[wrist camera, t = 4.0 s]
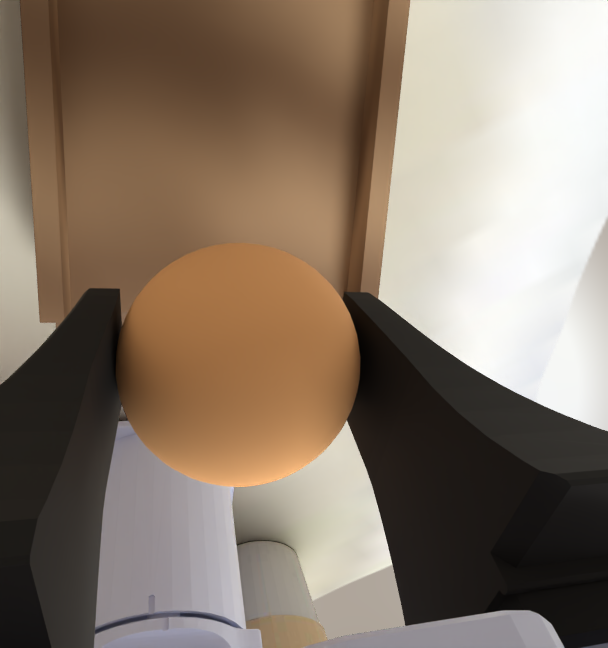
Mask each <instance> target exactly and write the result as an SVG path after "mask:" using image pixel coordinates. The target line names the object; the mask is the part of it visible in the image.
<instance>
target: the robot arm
mask: <svg viewBox="0 0 608 648" xmlns="http://www.w3.org/2000/svg"><path fill="white" fill-rule="evenodd" d="M342 300H343V302H344V304H345V306H346V307H347V309H348V311H349V313H350V315H351V318H352V321H353V324H354V327H355V330H356V333H357V337H358V344H359V351H360V380H359V385H358V390H357V394H356V398H355V401H354V404H353V407H352V410H351V412H350V414H349V416H348V418H347V421H348V424H349V426H350V429H351V431H352V434H353V436H354V439H355V441H356V444H357V446H358V449H359V451H360V454H361V456H362V459H363V462H364V464H365V467H366V469H367V472H368V475H369V478H370V481H371V484H372V486H373V490H374V494H375V497H376V501H377V505H378V508H379V512H380V516H381V519H382V523H383V527H384V531H385V535H386V539H387V543H388V547H389V551H390V556H391V560H392V564H393V568H394V573H395V578H396V582H397V587H398V591H399V596H400V600H401V605H402V610H403V615H404V620H405V626H403V627H396V628H389V629H383V630H377V631H370V632H364V633H358V634H352V635H346V636H341V637H337V638H334V639H330V640H327V641H323V642H319V643H316V644H312V645H309V646H305V647H303V648H608V431H605V430H601V429H599V428H596V427H593V426H591V425H588V424H586V423H583V422H581V421H578V420H575V419H573V418H570V417H567V416H565V415H563V414H561V413H558V412H556V411H554V410H551V409H549V408H547V407H544V406H542V405H540V404H538V403H536V402H534V401H532V400H530V399H528V398H526V397H524V396H521V395H519V394H517V393H515V392H513V391H511V390H510V389H508V388H506V387H504V386H502V385H500V384H498V383H497V382H495V381H493V380H491V379H490V378H488V377H486V376H485V375H483V374H481V373H479V372H478V371H476V370H474V369H473V368H471V367H470V366H468V365H466V364H465V363H463V362H462V361H460V360H459V359H457V358H456V357H454V356H453V355H452V354H450V353H449V352H447V351H446V350H444V349H443V348H441V347H440V346H439V345H437V344H436V343H434V342H433V341H432V340H430V339H429V338H428V337H426V336H425V335H424V334H422V333H421V332H420V331H418V330H417V329H416V328H415V327H413V326H412V325H411V324H409V323H408V322H407V321H406V320H404V319H403V318H402V317H401V316H399V315H398V314H397V313H396V312H394V311H393V310H392V309H390V308H389V307H388V306H387V305H385V304H384V303H383V302H381V301H380V300H379V299H377V298H376V297H375V296H373V295H372V294H370V293H368V292H344V295H343V299H342ZM121 328H122V318H121V300H120V289H117V288H89V289H88V290H87V291H86V292H84V294H83V295H82V297H81V298H80V299H79V301H78V302H77V303H76V305H75V306H74V307H73V309H72V310H71V311H70V313H69V314H68V315H67V316H66V318H65V319H64V320H63V321H62V323H61V324H60V325H59V326H58V327H57V328H56V330H55V331H54V332H53V333H52V334H51V335H50V336H49V338H48V339H47V340H46V341H45V342H44V343H43V344H42V345H41V346H40V348H39V349H38V350H37V351H36V352H35V353H34V354H33V355H32V356H31V357H30V358H29V359H28V360H27V361H26V362H25V363H24V364H23V365H22V366H21V367H20V368H19V369H18V370H17V371H15V372H14V373H13V374H12V375H11V376H10V377H9V378H8V379H7V380H6V381H4V382H3V383H2V384H1V385H0V648H263V647H262V639H261V632H260V630H259V629H246V622H245V613H244V605H243V596H242V588H241V579H240V571H239V562H238V553H237V545H236V536H235V528H234V519H233V510H232V501H233V493H234V487H228V486H220V485H214V484H209V483H205V482H201V481H198V480H195V479H192V478H190V477H188V476H186V475H184V474H182V473H180V472H178V471H176V470H174V469H172V468H171V467H169V466H168V465H166V464H165V463H164V462H162V461H161V460H160V459H159V458H158V457H157V456H156V455H155V454H153V453H152V452H151V451H150V450H149V449H148V448H147V447H146V446H145V444H144V443H143V442H142V441H141V440H140V438H139V437H138V435H137V434H136V433H135V431H134V430H133V428H132V426H131V424H130V423H129V421H119V416H120V410H121V401H120V397H119V392H118V388H117V381H116V350H117V345H118V340H119V335H120V331H121Z"/></svg>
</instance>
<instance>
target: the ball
mask: <svg viewBox="0 0 608 648" xmlns="http://www.w3.org/2000/svg"><path fill="white" fill-rule="evenodd" d="M359 380H360V351H359V344H358V337H357V333H356V330H355V327H354V324H353V321H352V318H351V315H350V313H349V311H348V309H347V307H346V306H345V304H344V302H343V300H342V299H341V297H340V296H339V294H338V293H337V292H336V290H335V289H334V288H333V286H332V285H331V284H330V283H329V282H328V281H327V280H326V279H325V278H324V277H323V276H322V275H321V274H320V273H319V272H318V271H317V270H316V269H314V268H313V267H311V266H310V265H308V264H307V263H306V262H304V261H302V260H301V259H299V258H297V257H295V256H293V255H291V254H289V253H287V252H285V251H282V250H279V249H276V248H273V247H269V246H264V245H259V244H250V243H226V244H219V245H213V246H209V247H206V248H202V249H199V250H197V251H194V252H191V253H189V254H187V255H185V256H183V257H181V258H179V259H177V260H175V261H174V262H172V263H170V264H169V265H168V266H166V267H165V268H163V269H162V270H161V271H160V272H159V273H157V274H156V275H155V276H154V277H153V278H152V279H151V280H150V281H149V282H148V283H147V285H146V286H145V287H144V288H143V289H142V291H141V292H140V293H139V294H138V296H137V297H136V299H135V300H134V302H133V304H132V306H131V307H130V309H129V311H128V313H127V315H126V317H125V320H124V322H123V325H122V328H121V331H120V335H119V340H118V345H117V350H116V381H117V388H118V392H119V397H120V401H121V404H122V406H123V409H124V412H125V414H126V416H127V419H128V421H129V423H130V424H131V426H132V428H133V430H134V431H135V433H136V434H137V435H138V437H139V438H140V440H141V441H142V442H143V443H144V444H145V446H146V447H147V448H148V449H149V450H150V451H151V452H152V453H153V454H155V455H156V456H157V457H158V458H159V459H160V460H161V461H162V462H164V463H165V464H166V465H168V466H169V467H171V468H172V469H174V470H176V471H178V472H180V473H182V474H184V475H186V476H188V477H190V478H192V479H195V480H198V481H201V482H205V483H209V484H214V485H220V486H228V487H247V486H255V485H261V484H266V483H269V482H273V481H276V480H279V479H281V478H284V477H286V476H289V475H291V474H293V473H295V472H296V471H298V470H300V469H301V468H303V467H304V466H306V465H307V464H309V463H310V462H311V461H313V460H314V459H316V458H317V457H318V456H319V455H320V454H321V453H322V452H324V450H325V449H326V448H327V447H328V446H329V445H330V444H331V443H332V441H333V440H334V439H335V438H336V436H337V435H338V433H339V432H340V431H341V429H342V428H343V426H344V424H345V422H346V420H347V418H348V416H349V414H350V412H351V410H352V407H353V404H354V401H355V398H356V394H357V390H358V385H359Z"/></svg>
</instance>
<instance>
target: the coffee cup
mask: <svg viewBox="0 0 608 648" xmlns="http://www.w3.org/2000/svg"><path fill="white" fill-rule="evenodd" d="M237 553H238V562H239V571H240V579H241V588H242V596H243V605H244V613H245V622H246V629H259V630H260V632H261V639H262V647H263V648H303V647H305V646H309V645H312V644H316V643H319V642H323V641H327V637H326V634H325V631H324V628H323V627H322V626H321V625H320V623H319V621H318V618H317V615H316V611H315V608H314V606H313V602H312V599H311V596H310V593H309V590H308V587H307V584H306V581H305V578H304V575H303V572H302V569H301V566H300V563H299V560H298V556H297V554H296V553H295V552H294V550H293V549H291V548H290V547H288V546H286V545H284V544H281V543H277V542H272V541H254V542H247V543H244V544H240V545H238V546H237Z"/></svg>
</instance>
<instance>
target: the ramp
mask: <svg viewBox="0 0 608 648" xmlns="http://www.w3.org/2000/svg"><path fill="white" fill-rule="evenodd" d="M409 7H410V0H20V11H21V27H22V43H23V59H24V75H25V91H26V107H27V123H28V139H29V155H30V171H31V187H32V203H33V219H34V235H35V252H36V268H37V284H38V300H39V316H40V323H56V328H57V327H58V326H59V325H60V324H61V323H62V321H63V320H64V319H65V318H66V316H67V315H68V314H69V313H70V311H71V310H72V309H73V307H74V306H75V305H76V303H77V302H78V301H79V299H80V298H81V297H82V295H83V294H84V292H86V291H87V290H88V289H89V288H117V289H120V300H121V318H122V325H123V322H124V320H125V317H126V315H127V313H128V311H129V309H130V307H131V306H132V304H133V302H134V300H135V299H136V297H137V296H138V294H139V293H140V292H141V291H142V289H143V288H144V287H145V286H146V285H147V283H148V282H149V281H150V280H151V279H152V278H153V277H154V276H155V275H156V274H157V273H159V272H160V271H161V270H162V269H163V268H165V267H166V266H168V265H169V264H170V263H172V262H174V261H175V260H177V259H179V258H181V257H183V256H185V255H187V254H189V253H191V252H194V251H197V250H199V249H202V248H206V247H209V246H213V245H219V244H226V243H250V244H259V245H264V246H269V247H273V248H276V249H279V250H282V251H285V252H287V253H289V254H291V255H293V256H295V257H297V258H299V259H301V260H302V261H304V262H306V263H307V264H308V265H310V266H311V267H313V268H314V269H316V270H317V271H318V272H319V273H320V274H321V275H322V276H323V277H324V278H325V279H326V280H327V281H328V282H329V283H330V284H331V285H332V286H333V288H334V289H335V290H336V292H337V293H338V294H339V296H340V297H341V299H343V295H344V292H368V293H370V294H372V295H373V296H375V297H376V298H377V299H378V294H379V285H380V276H381V266H382V257H383V248H384V239H385V229H386V220H387V211H388V201H389V192H390V183H391V174H392V164H393V155H394V146H395V137H396V127H397V118H398V109H399V100H400V90H401V81H402V72H403V62H404V53H405V44H406V35H407V25H408V16H409Z"/></svg>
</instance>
